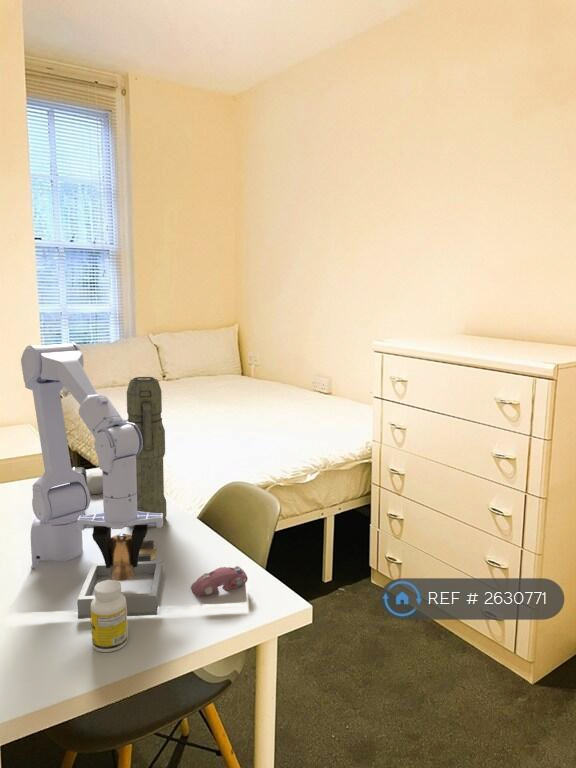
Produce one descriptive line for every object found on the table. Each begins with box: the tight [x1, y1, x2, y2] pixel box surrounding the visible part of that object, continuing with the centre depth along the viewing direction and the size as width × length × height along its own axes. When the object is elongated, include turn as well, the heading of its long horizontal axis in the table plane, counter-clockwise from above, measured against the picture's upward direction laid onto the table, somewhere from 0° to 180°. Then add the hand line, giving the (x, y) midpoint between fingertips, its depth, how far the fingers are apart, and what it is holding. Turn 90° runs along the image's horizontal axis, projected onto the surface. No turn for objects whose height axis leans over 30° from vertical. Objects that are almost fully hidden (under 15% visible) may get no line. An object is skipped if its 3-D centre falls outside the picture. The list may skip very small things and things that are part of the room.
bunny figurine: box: [87, 471, 103, 495], centre depth 160 cm, size 10×5×15 cm
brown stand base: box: [138, 539, 157, 562], centre depth 121 cm, size 12×10×4 cm
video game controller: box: [190, 565, 248, 597], centre depth 108 cm, size 10×5×7 cm, turn 119°
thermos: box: [126, 376, 168, 530], centre depth 135 cm, size 9×12×35 cm
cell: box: [110, 533, 135, 582], centre depth 107 cm, size 4×4×8 cm
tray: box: [76, 560, 164, 619], centre depth 108 cm, size 13×13×4 cm
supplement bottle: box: [90, 579, 129, 653], centre depth 93 cm, size 5×5×10 cm
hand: (122, 565), depth 107 cm, fingers closed on cell, 4 cm apart
